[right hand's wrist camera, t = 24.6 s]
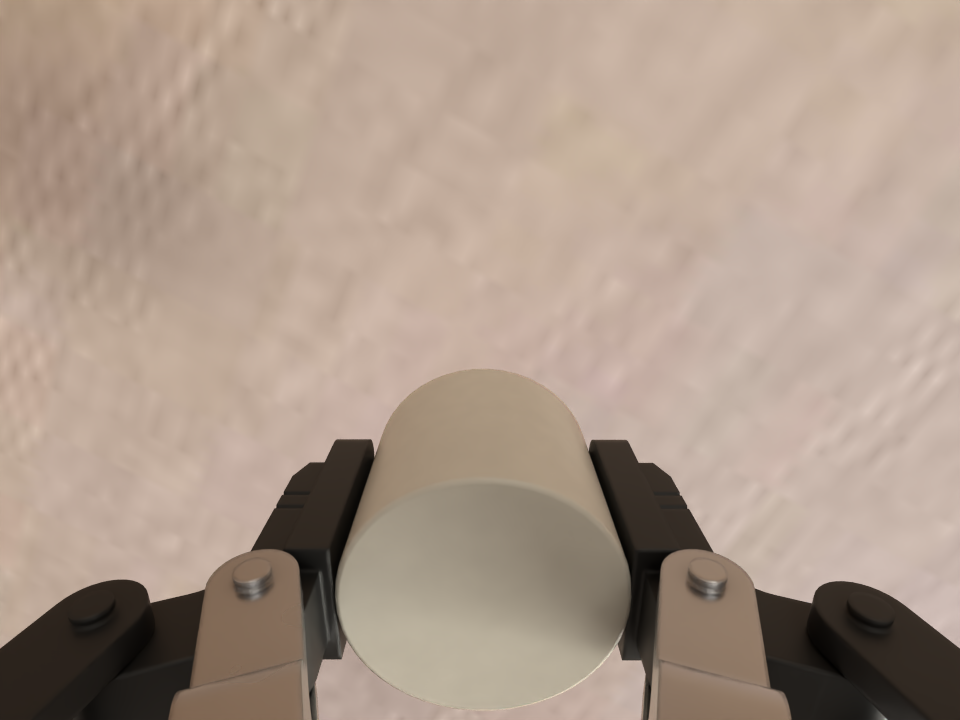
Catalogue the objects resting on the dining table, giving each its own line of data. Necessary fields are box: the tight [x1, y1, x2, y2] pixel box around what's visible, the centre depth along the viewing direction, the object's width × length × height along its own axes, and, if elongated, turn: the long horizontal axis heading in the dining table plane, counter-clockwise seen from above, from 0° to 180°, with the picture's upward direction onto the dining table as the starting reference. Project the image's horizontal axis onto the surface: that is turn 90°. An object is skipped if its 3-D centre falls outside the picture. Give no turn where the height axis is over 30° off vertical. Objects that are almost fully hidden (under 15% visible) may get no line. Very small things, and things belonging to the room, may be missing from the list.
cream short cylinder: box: [335, 369, 631, 711], centre depth 11 cm, size 5×5×4 cm
